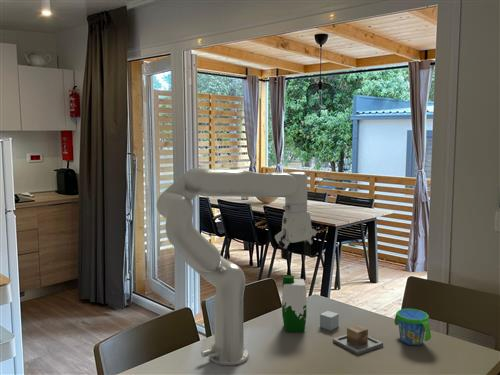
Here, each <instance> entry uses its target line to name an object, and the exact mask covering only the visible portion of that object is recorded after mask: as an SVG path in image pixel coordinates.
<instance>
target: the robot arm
mask: <svg viewBox="0 0 500 375" xmlns="http://www.w3.org/2000/svg"><path fill="white" fill-rule="evenodd" d="M197 196H200V197H237V198H238V197H243V198H254V197H255V198H284V203H285V204H284V205H283V206H282V210H284V212H283V215H282V221H281V222H282V223H281V231H279V232H278V233H276V234H275V235H274V239H275V242H276V244H277V245H278V247H280V257H281V259H283V260H289V248H288V246H289V245H290V243H299V242H303V254H304V255H306V256H311V254H312V247H311V246H312V244H313V242H314V240H315V237H316V235H317V230H316V229H315V228H312V219H311V213H310V211H309V210H308V174H307V173H306V172H303V171H289V172H275V171H272V172H267V173H263V172H262V173H261V172H255V171H250V170H242V169H218V168H217V169H215V168H214V169H213V168H200V167H192V168H190V169H188V170H187V171H185V172H184V173H183V174H182V175H180V176H179V177H178V178H177V179H176V180H175V181H174V182H173V183H171V185H169V186H168V187H167V188H166V189H165V190H164V191H163V192H162V193H161V194H159V196H158V199H157V201H156V209H157V211H158V213H159V215H161V216H162V217H164V218H165V219H166V220H165V233H166V238H167V240H168V242H169V243H170V244H171V245H172V247H174V248H175V250H177V251H178V252H179V253H180V254H181V257H182V259H183V261H184V262H185V263H186V264H187V265H188V266H189V267H190V268H191V269H193V270H194V272H196V273H197V274H198V275H199V276H201V277H202V278H203V279H204V280H205V281H206V282H208V283H209V284H210V285H212V286H213V287H215V289H216V291H215V296H214V300H213V315H214V316H213V322H214V323H213V324H214V343H212V344H211V347H210V348H209V349H205V350H201V352H200V355H201V357H202V358H206V357H208V359H210V360H211V362H213V363H215V364H217V365H220V366H227V367H228V366H236V365H240V364H243V363H244V362H246V361H247V360H248V359H249V357H250V356H249V354H250V353H249V351H248V349H246V348H244V347H245V340H244V338H245V336H244V332H245V331H244V327H245V326H244V293H245V288H246V275H245V273H244V271H243V269H242V268H241V267H240V266H239V265H237V264H235V263H234V262H232V261H231V260H228V259H227V258H225V257H223V256H222V255H221V253H220V251H219V250H218V248H217V246H216V245H214V244H213V243H212V242H211V241H210V240H208V239H207V238H206V237H205V236H204V235H202V234H201V232H200V231H198V230H197V229H196V227H195V225H194V223H193V218H194V217H193V216H194V212H195V211H194V204H193V202H192V200H194V199H195V198H196V197H197Z"/></svg>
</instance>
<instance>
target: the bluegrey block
mask: <svg viewBox="0 0 500 375" xmlns="http://www.w3.org/2000/svg"><path fill="white" fill-rule="evenodd" d="M339 315H340V314H339V313H337V312H333V311H330V310H325V311H324V312H322V313H320V314H319V328H322V329H325V330H328V331H333V330H334V329H336V328H338V327H339V325H340V324H339V323H340V322H339V318H340V317H339Z"/></svg>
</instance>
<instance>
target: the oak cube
mask: <svg viewBox="0 0 500 375" xmlns="http://www.w3.org/2000/svg"><path fill="white" fill-rule="evenodd" d="M346 335H347V342H349V343H351V344H353V345H355V346H357V347H358V346H361V345H364V344H367V343H368V336H369V329H368V328H366V327H364V326H361V325H359V324H355V325H352V326H349V327H346Z"/></svg>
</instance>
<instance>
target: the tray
mask: <svg viewBox="0 0 500 375" xmlns="http://www.w3.org/2000/svg"><path fill="white" fill-rule="evenodd" d="M332 343H334V344H336V345H337V346H340V347H341V348H343V349H345V350H347V351H349V352H351V353H353V354H355V355H357V356H359V355H362V354H365V353H367V352H371V351H374V350H375V349H380V348H382V347H384V342H382V341H380V340H378V339H376V338H373V337H372V336H370V335H368V343H367V344H364V345H361V346H358V347H357V346H355V345H353V344H351V343H349V342H347V334H344V335H340V336H337V337H334V338H332Z"/></svg>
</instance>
